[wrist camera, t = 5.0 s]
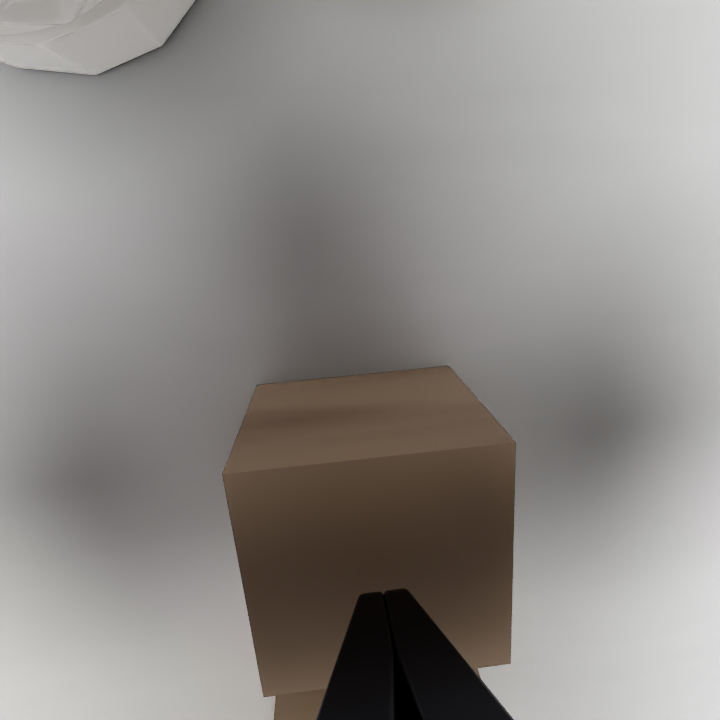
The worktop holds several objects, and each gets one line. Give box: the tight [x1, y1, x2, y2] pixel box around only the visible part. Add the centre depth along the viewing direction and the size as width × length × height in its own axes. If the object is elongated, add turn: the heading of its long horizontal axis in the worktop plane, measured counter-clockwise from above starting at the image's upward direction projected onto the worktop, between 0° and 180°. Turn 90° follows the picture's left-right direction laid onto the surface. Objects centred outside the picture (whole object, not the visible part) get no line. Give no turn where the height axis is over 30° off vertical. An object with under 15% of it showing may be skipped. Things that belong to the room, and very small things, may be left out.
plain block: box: [222, 366, 516, 697], centre depth 11 cm, size 5×5×4 cm
